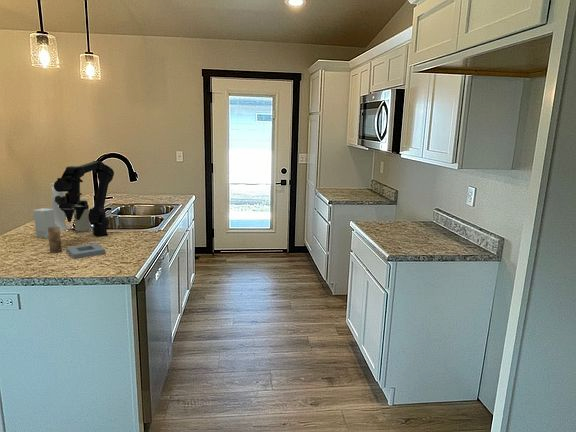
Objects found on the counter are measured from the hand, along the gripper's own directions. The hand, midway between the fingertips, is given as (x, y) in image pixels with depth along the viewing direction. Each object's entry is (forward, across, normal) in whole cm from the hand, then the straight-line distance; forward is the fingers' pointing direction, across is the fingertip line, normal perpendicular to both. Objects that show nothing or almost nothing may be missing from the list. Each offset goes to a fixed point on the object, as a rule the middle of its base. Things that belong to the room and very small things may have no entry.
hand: (73, 221), depth 211 cm
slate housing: (+13, +14, +12) cm, 23 cm away
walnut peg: (+14, +13, -2) cm, 19 cm away
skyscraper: (+10, -30, -22) cm, 39 cm away
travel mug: (+10, -30, -10) cm, 33 cm away
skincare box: (+12, -14, -22) cm, 28 cm away
